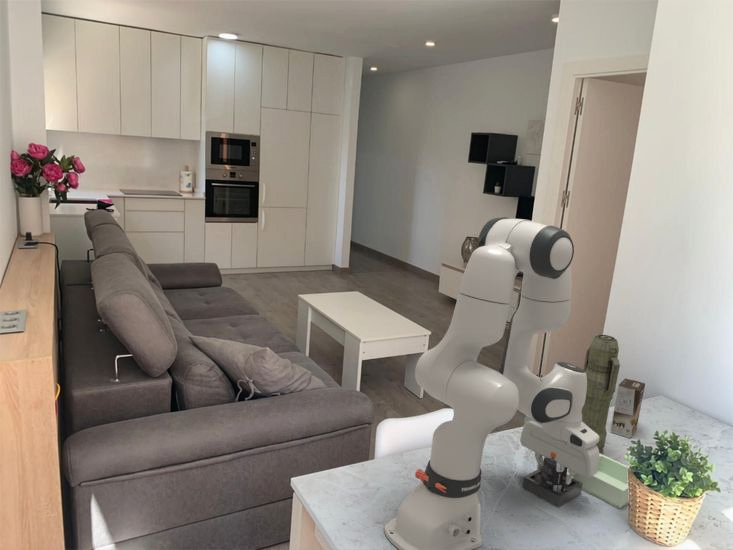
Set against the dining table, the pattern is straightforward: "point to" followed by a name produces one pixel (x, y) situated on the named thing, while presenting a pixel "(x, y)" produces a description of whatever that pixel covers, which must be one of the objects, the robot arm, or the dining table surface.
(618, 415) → the coffee box
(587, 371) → the thermos
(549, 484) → the pill bottle
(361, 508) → the dining table surface
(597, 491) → the bin
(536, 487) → the dark grey shallow tray
